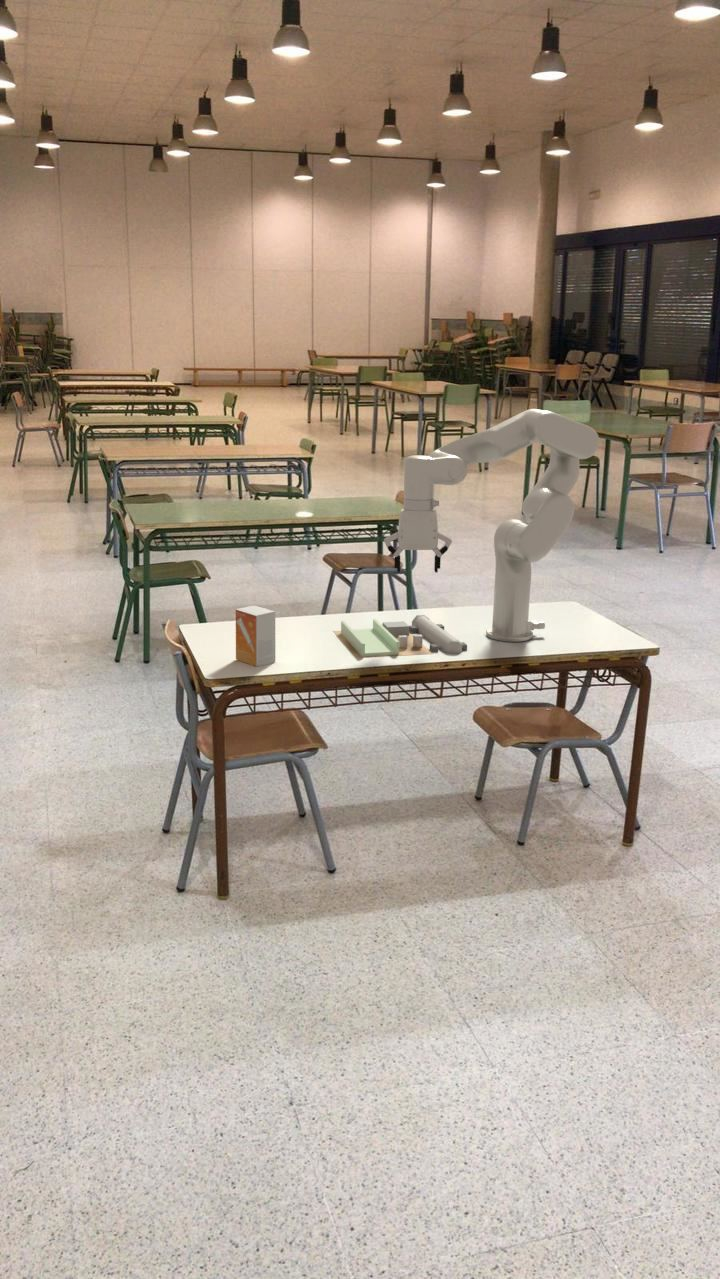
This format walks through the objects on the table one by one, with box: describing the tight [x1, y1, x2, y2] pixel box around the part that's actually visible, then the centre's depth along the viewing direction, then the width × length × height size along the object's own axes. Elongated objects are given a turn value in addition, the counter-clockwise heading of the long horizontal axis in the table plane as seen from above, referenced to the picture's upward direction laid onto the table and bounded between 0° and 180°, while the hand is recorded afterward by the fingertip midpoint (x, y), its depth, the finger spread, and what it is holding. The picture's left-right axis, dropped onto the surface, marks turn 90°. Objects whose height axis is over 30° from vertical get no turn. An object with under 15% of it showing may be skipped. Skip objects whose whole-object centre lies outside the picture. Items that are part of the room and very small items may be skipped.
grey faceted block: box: [381, 621, 410, 636], centre depth 290 cm, size 6×5×2 cm
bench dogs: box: [398, 634, 424, 649], centre depth 277 cm, size 6×2×3 cm, turn 105°
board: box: [332, 630, 434, 659], centre depth 282 cm, size 20×25×1 cm
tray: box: [340, 619, 399, 657], centre depth 280 cm, size 10×22×3 cm, turn 14°
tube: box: [411, 614, 463, 654], centre depth 284 cm, size 5×5×25 cm
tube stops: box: [409, 623, 468, 653], centre depth 285 cm, size 9×20×2 cm, turn 14°
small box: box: [235, 605, 276, 668], centre depth 266 cm, size 8×6×13 cm
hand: (417, 571), depth 279 cm, fingers open, 9 cm apart
